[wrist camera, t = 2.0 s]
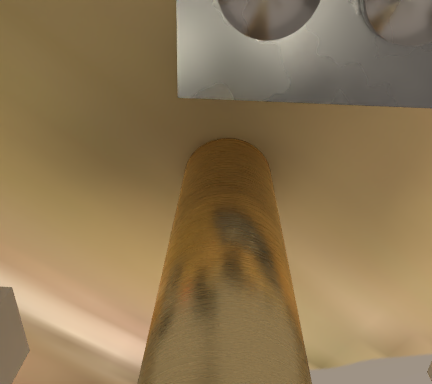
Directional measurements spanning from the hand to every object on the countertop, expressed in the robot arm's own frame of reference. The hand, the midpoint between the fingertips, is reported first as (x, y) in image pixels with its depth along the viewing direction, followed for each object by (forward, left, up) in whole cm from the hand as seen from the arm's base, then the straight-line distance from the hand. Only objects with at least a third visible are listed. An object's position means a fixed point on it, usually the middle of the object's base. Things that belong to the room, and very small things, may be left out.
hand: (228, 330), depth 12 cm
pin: (0, 0, -10) cm, 10 cm away
